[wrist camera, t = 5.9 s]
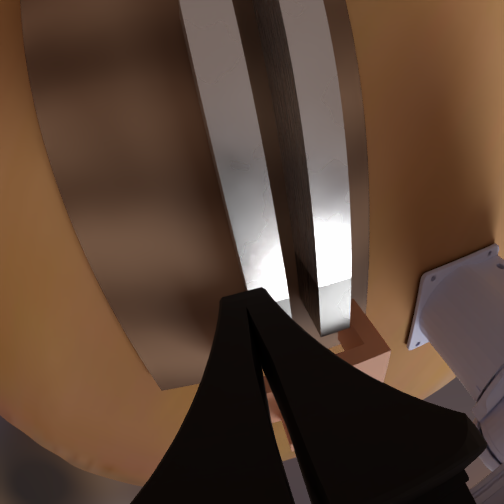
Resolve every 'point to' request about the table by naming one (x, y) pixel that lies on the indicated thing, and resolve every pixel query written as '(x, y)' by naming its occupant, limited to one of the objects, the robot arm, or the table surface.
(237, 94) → the tongs arm
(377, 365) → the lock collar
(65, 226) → the table surface
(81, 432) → the table surface
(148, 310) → the walnut board
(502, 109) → the table surface
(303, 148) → the base
